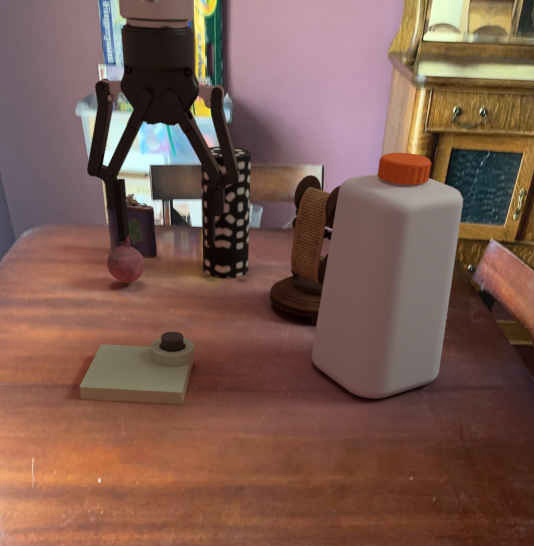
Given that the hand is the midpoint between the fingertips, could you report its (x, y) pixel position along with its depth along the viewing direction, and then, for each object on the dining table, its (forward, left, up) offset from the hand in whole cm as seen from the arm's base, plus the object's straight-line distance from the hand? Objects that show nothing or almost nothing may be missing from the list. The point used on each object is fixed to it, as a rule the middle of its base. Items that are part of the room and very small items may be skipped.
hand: (167, 240), depth 83 cm
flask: (-14, +45, -18) cm, 50 cm away
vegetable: (-12, +29, -18) cm, 36 cm away
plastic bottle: (+28, +3, -18) cm, 33 cm away
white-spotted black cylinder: (+4, +39, -18) cm, 43 cm away
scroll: (+20, +24, -18) cm, 36 cm away
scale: (-4, -3, -18) cm, 19 cm away
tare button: (0, 0, -15) cm, 15 cm away
